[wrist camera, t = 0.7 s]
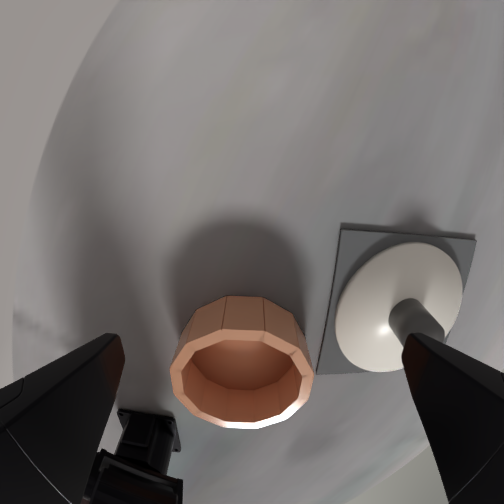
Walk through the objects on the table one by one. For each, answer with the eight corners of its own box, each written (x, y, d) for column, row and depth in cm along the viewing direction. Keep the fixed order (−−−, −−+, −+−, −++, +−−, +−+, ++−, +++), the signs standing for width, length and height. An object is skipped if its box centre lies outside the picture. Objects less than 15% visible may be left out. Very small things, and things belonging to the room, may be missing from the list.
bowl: (295, 392, 26) (301, 428, 22) (187, 387, 26) (178, 423, 22) (311, 298, 23) (323, 331, 19) (178, 292, 23) (164, 324, 18)
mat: (435, 362, 25) (436, 364, 25) (315, 372, 25) (316, 374, 25) (474, 239, 21) (476, 240, 21) (340, 229, 21) (341, 230, 21)
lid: (434, 360, 25) (455, 391, 21) (322, 369, 25) (333, 409, 20) (471, 245, 21) (505, 266, 17) (347, 237, 21) (371, 261, 16)
